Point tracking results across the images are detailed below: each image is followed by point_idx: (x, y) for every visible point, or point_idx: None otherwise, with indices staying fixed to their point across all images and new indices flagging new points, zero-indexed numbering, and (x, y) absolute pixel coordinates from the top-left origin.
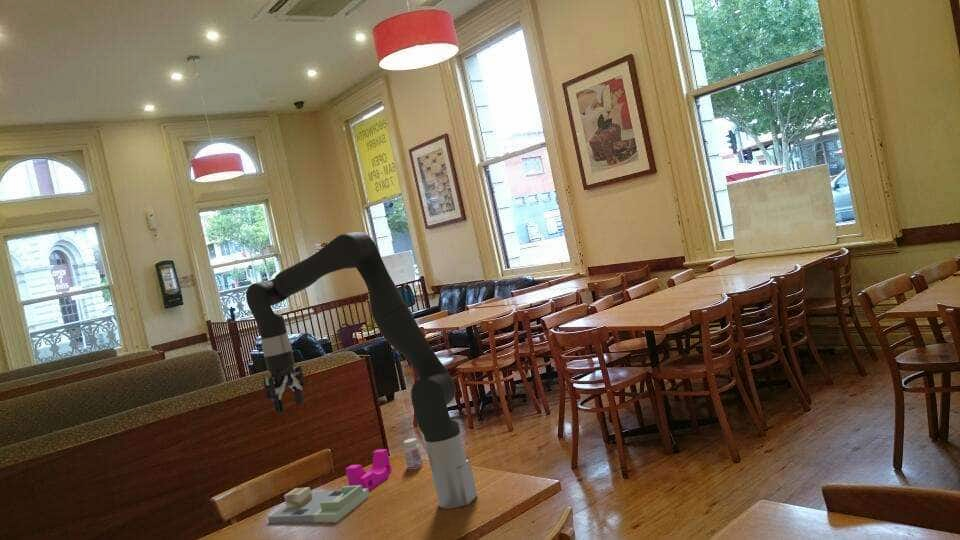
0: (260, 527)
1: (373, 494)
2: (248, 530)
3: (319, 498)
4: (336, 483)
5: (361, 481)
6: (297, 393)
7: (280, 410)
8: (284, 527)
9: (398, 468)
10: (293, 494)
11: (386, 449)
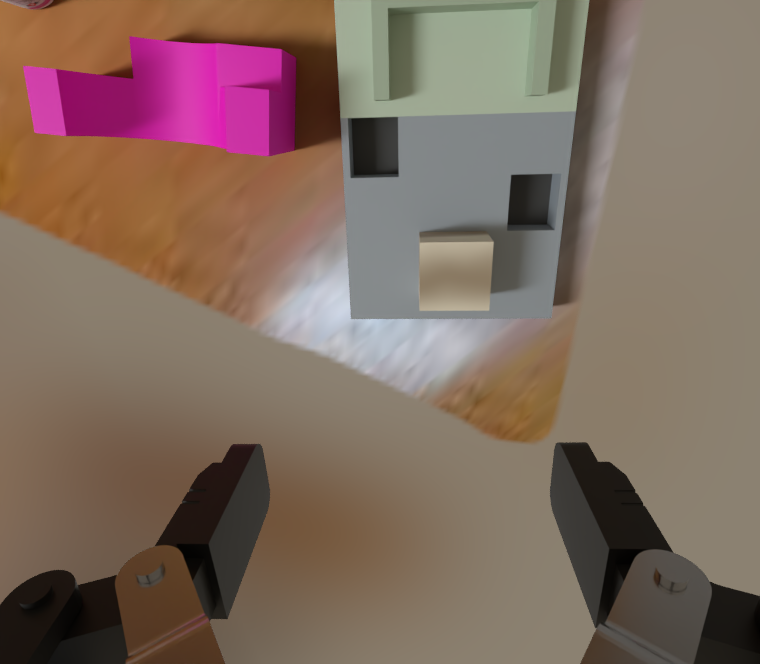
0: (545, 337)
1: (313, 9)
2: (560, 366)
3: (415, 202)
4: (211, 287)
5: (284, 74)
6: (224, 551)
7: (608, 469)
8: (565, 237)
9: None
10: (487, 270)
11: (27, 66)
